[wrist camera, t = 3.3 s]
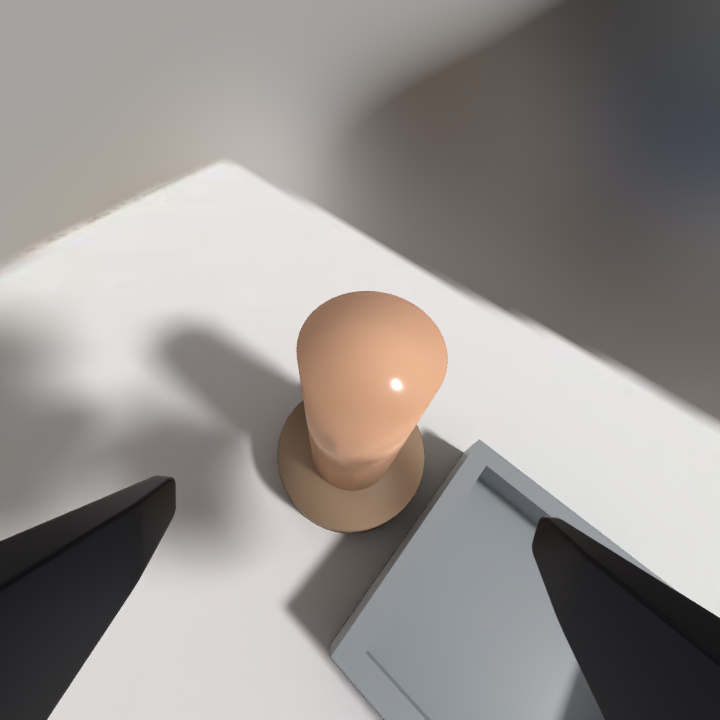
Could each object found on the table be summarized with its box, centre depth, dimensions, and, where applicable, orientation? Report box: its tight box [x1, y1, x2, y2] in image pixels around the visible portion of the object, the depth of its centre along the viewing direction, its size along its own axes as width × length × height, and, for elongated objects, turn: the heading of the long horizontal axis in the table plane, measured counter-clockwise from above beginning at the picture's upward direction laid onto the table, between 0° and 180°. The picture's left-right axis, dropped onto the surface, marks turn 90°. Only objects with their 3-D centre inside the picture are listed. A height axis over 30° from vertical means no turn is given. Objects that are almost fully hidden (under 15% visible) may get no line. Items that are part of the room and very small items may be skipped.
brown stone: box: [278, 400, 425, 533], centre depth 19 cm, size 8×8×2 cm
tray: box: [330, 439, 675, 720], centre depth 15 cm, size 12×12×2 cm
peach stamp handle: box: [297, 291, 448, 491], centre depth 14 cm, size 4×4×10 cm
